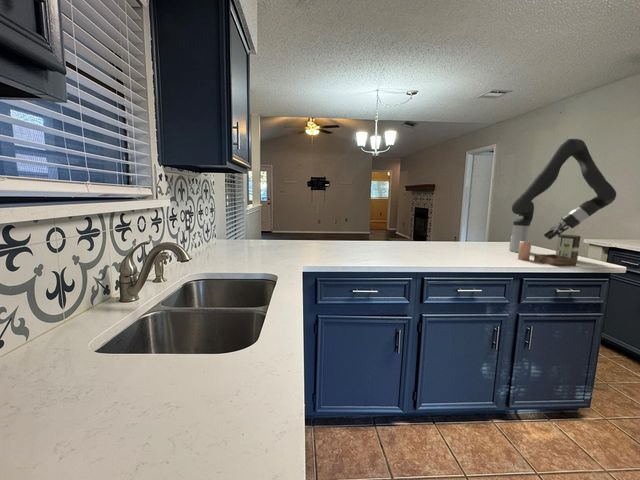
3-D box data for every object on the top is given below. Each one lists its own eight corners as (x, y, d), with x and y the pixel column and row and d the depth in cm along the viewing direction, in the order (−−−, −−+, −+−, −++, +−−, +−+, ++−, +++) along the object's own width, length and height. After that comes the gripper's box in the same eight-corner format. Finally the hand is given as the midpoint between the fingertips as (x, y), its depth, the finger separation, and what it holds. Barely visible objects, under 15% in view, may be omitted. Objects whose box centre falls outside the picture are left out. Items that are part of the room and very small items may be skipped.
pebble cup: (515, 258, 183) (517, 241, 182) (523, 258, 184) (525, 240, 183) (523, 260, 178) (525, 242, 176) (531, 260, 179) (533, 242, 177)
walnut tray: (533, 260, 178) (534, 254, 177) (553, 260, 180) (554, 254, 179) (554, 266, 165) (555, 259, 164) (575, 265, 167) (576, 259, 167)
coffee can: (572, 258, 185) (576, 234, 183) (580, 262, 176) (584, 237, 174) (552, 257, 189) (555, 233, 187) (558, 260, 179) (561, 236, 177)
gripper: (566, 211, 175) (538, 230, 182) (573, 212, 163) (543, 233, 169) (576, 221, 174) (549, 240, 180) (584, 223, 161) (554, 244, 168)
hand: (546, 237), depth 175 cm, fingers open, 8 cm apart
